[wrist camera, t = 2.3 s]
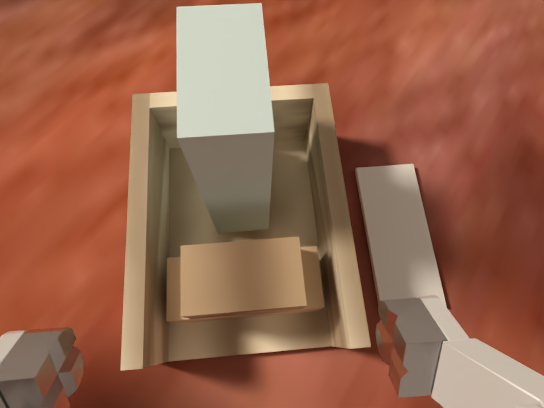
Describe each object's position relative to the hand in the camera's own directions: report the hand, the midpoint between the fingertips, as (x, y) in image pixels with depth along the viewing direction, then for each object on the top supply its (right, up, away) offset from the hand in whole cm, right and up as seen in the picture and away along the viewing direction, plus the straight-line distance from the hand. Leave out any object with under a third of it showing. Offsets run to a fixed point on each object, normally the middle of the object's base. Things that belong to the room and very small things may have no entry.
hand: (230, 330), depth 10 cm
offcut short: (-1, -2, +14) cm, 14 cm away
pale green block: (-1, +5, +21) cm, 21 cm away
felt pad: (+11, +1, +21) cm, 24 cm away
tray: (-1, +1, +20) cm, 20 cm away
